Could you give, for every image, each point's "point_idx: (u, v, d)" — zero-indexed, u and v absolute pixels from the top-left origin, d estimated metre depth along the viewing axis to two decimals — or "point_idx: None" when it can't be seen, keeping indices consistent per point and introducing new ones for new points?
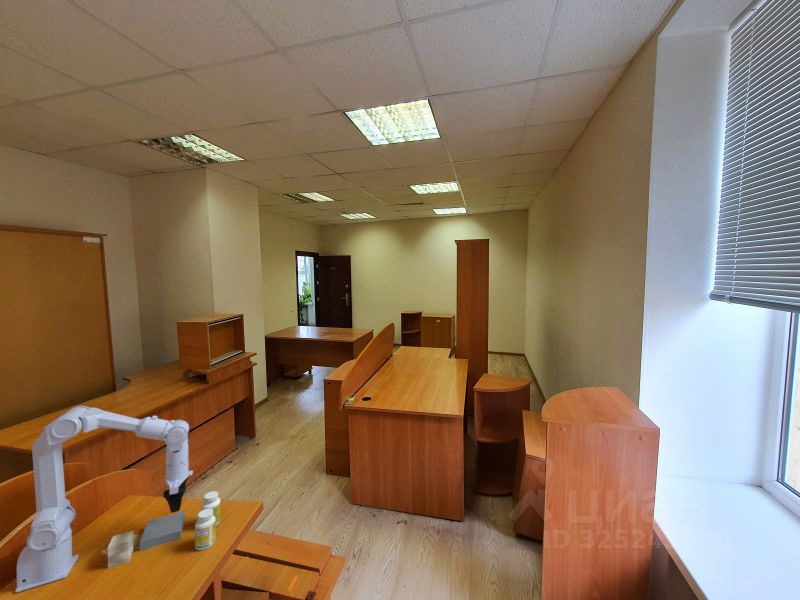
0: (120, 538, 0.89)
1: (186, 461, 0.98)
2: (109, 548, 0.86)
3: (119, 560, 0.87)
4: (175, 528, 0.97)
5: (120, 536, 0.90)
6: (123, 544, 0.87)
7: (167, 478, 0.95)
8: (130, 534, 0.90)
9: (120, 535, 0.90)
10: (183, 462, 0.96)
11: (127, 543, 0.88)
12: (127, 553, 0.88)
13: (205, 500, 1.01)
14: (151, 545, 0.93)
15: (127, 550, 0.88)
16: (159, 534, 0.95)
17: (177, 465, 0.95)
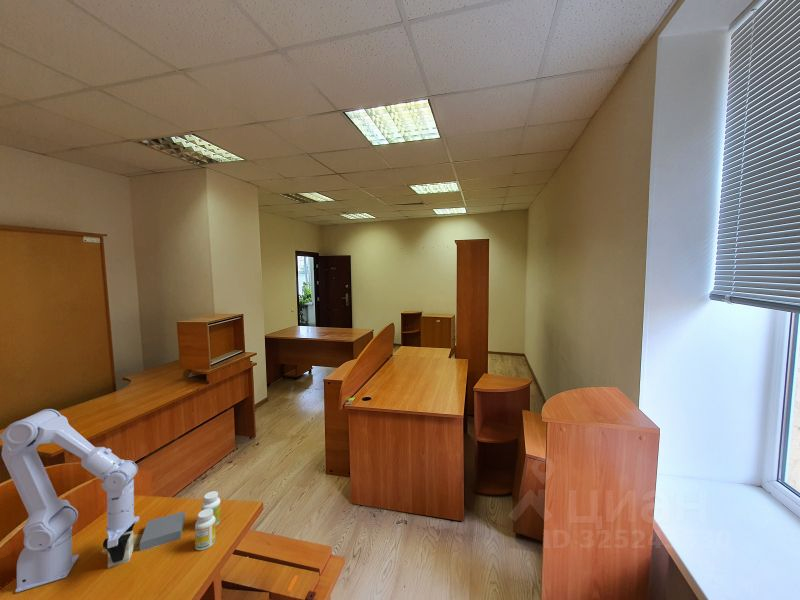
0: None
1: (130, 507, 0.89)
2: None
3: None
4: (175, 528, 0.97)
5: None
6: None
7: (108, 527, 0.86)
8: None
9: None
10: (126, 509, 0.88)
11: (127, 543, 0.88)
12: (127, 553, 0.88)
13: (205, 500, 1.01)
14: (151, 545, 0.93)
15: (127, 550, 0.88)
16: (159, 534, 0.95)
17: (119, 513, 0.86)
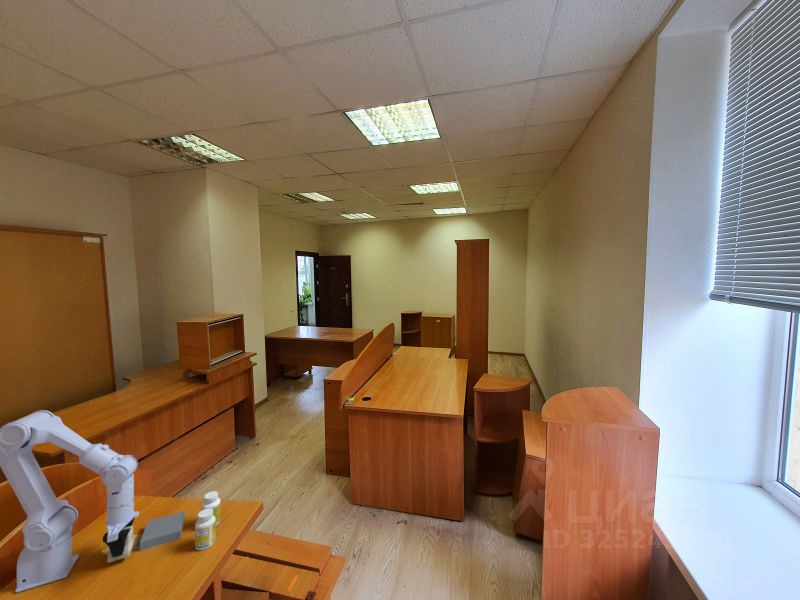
0: None
1: (130, 502, 0.89)
2: None
3: None
4: (175, 528, 0.97)
5: None
6: None
7: (108, 522, 0.86)
8: (130, 529, 0.90)
9: None
10: (126, 503, 0.88)
11: (127, 538, 0.88)
12: (127, 548, 0.88)
13: (205, 500, 1.01)
14: (151, 545, 0.93)
15: (127, 545, 0.88)
16: (160, 534, 0.95)
17: (119, 507, 0.86)
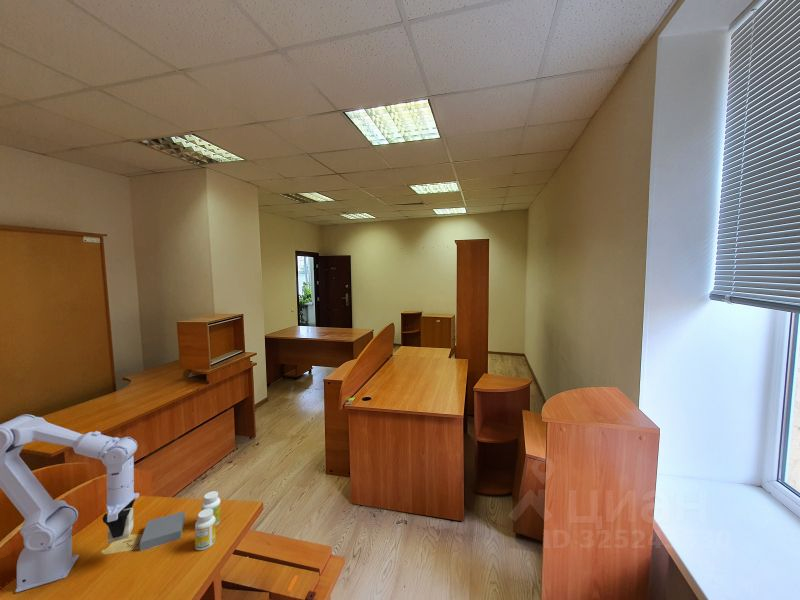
0: None
1: (130, 483, 0.89)
2: None
3: None
4: (175, 528, 0.97)
5: None
6: None
7: (108, 502, 0.86)
8: (130, 510, 0.90)
9: None
10: (126, 484, 0.88)
11: (127, 519, 0.88)
12: (127, 529, 0.88)
13: (205, 500, 1.01)
14: (151, 545, 0.93)
15: (127, 526, 0.88)
16: (160, 534, 0.95)
17: (119, 488, 0.86)
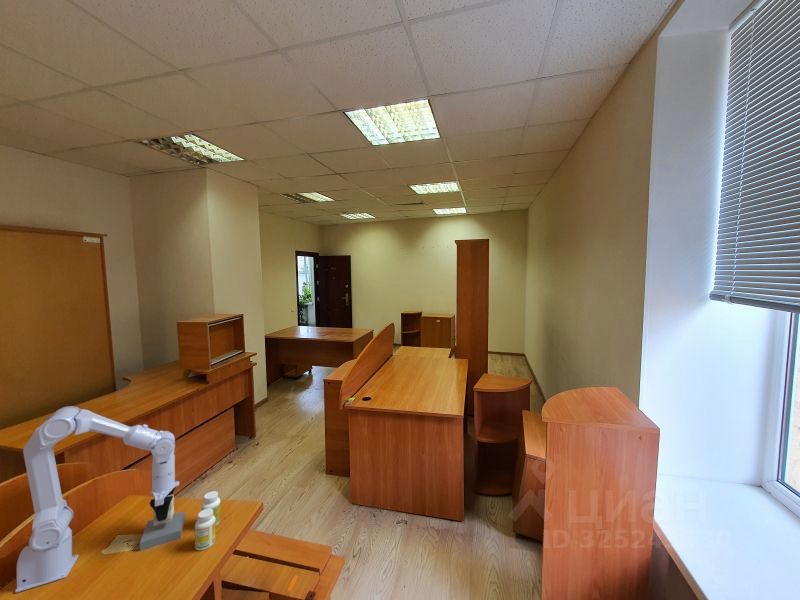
0: None
1: (172, 472, 0.98)
2: None
3: None
4: (175, 528, 0.97)
5: None
6: None
7: (153, 489, 0.96)
8: None
9: None
10: (169, 473, 0.97)
11: (170, 504, 0.97)
12: (170, 513, 0.97)
13: (205, 500, 1.01)
14: (152, 545, 0.93)
15: (170, 510, 0.97)
16: (160, 534, 0.95)
17: (163, 476, 0.96)
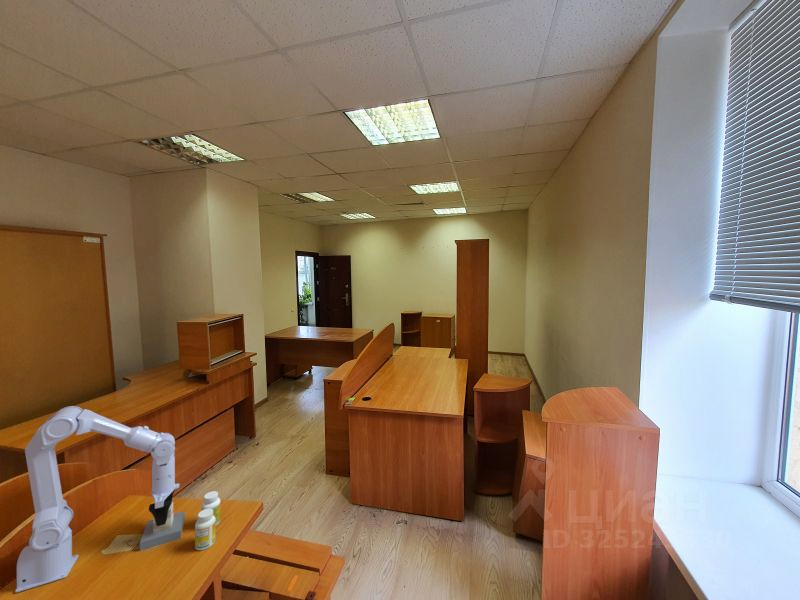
0: None
1: (172, 474, 0.98)
2: None
3: (163, 526, 0.96)
4: (175, 528, 0.97)
5: None
6: None
7: (153, 491, 0.96)
8: (171, 504, 1.00)
9: None
10: (169, 475, 0.97)
11: (169, 511, 0.97)
12: (170, 520, 0.97)
13: (205, 500, 1.01)
14: (152, 545, 0.93)
15: (170, 517, 0.97)
16: (160, 534, 0.95)
17: (163, 479, 0.96)
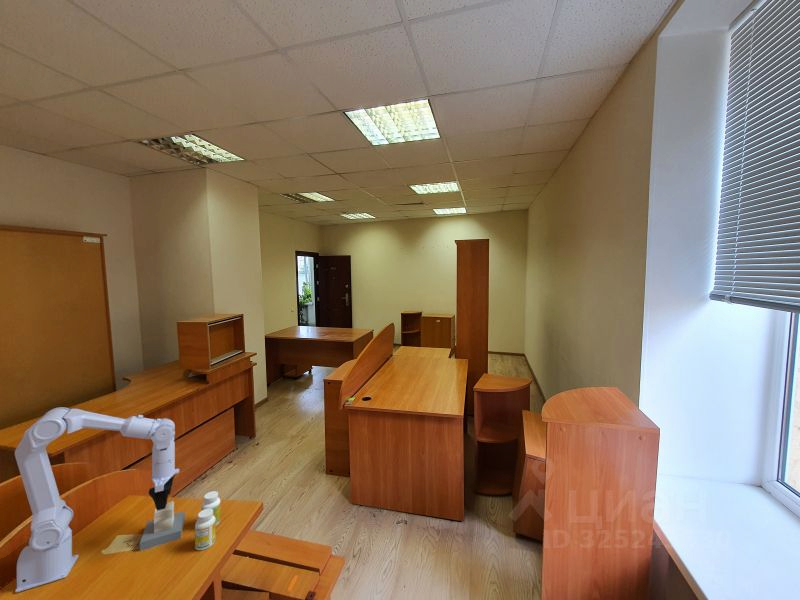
0: None
1: (172, 459, 0.98)
2: (155, 515, 0.95)
3: (164, 526, 0.96)
4: (175, 528, 0.97)
5: None
6: (167, 512, 0.97)
7: (153, 476, 0.96)
8: (172, 504, 1.00)
9: None
10: (169, 460, 0.97)
11: (170, 511, 0.97)
12: (170, 520, 0.97)
13: (205, 500, 1.01)
14: (152, 545, 0.93)
15: (170, 517, 0.97)
16: (160, 534, 0.95)
17: (163, 463, 0.96)
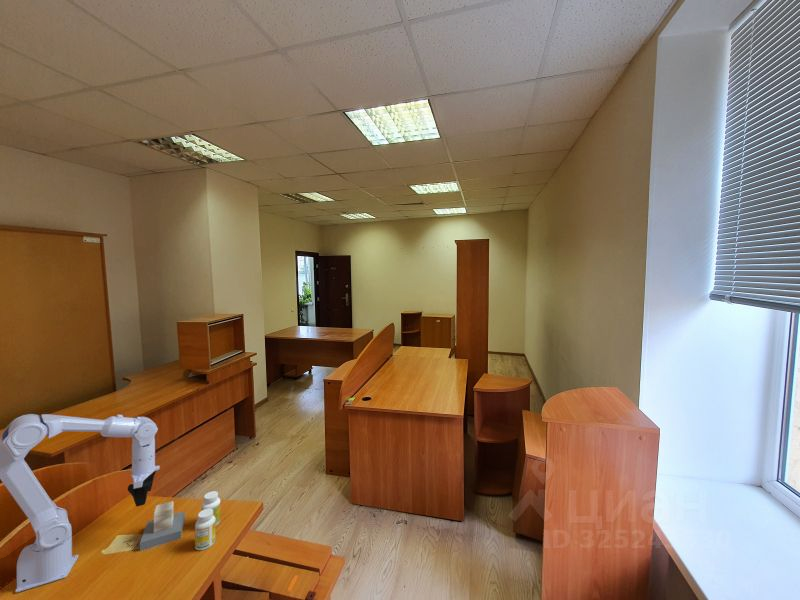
0: (163, 507, 0.98)
1: (152, 456, 1.00)
2: (155, 515, 0.95)
3: (163, 526, 0.97)
4: (175, 528, 0.97)
5: (163, 505, 0.99)
6: (167, 512, 0.97)
7: (133, 473, 0.97)
8: (172, 503, 1.00)
9: (163, 504, 0.99)
10: (149, 457, 0.99)
11: (170, 511, 0.97)
12: (170, 520, 0.97)
13: (205, 500, 1.01)
14: (152, 545, 0.93)
15: (170, 517, 0.97)
16: (160, 534, 0.95)
17: (143, 460, 0.97)
